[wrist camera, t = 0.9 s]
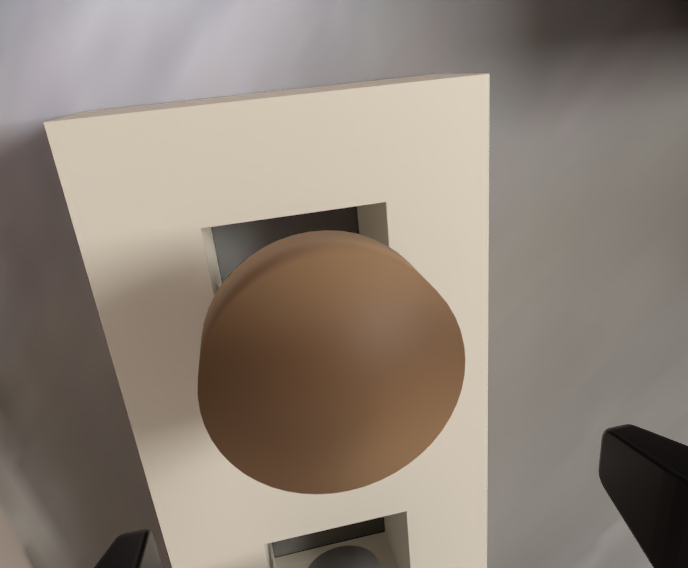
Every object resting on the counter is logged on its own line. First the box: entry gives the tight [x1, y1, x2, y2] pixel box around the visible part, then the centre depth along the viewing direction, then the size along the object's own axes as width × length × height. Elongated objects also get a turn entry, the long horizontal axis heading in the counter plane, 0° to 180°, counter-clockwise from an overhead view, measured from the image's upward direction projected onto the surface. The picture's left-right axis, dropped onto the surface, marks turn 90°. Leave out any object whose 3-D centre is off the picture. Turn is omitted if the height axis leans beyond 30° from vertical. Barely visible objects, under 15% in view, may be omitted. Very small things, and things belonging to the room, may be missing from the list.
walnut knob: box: [198, 230, 465, 494], centre depth 13 cm, size 6×6×5 cm
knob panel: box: [43, 74, 489, 568], centre depth 19 cm, size 22×11×4 cm, turn 6°
